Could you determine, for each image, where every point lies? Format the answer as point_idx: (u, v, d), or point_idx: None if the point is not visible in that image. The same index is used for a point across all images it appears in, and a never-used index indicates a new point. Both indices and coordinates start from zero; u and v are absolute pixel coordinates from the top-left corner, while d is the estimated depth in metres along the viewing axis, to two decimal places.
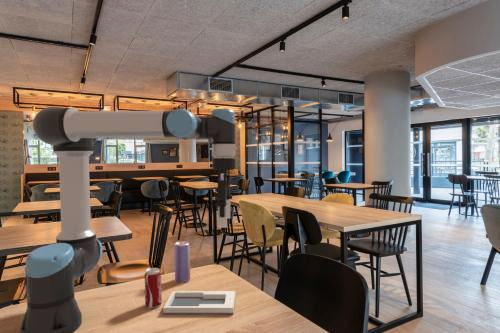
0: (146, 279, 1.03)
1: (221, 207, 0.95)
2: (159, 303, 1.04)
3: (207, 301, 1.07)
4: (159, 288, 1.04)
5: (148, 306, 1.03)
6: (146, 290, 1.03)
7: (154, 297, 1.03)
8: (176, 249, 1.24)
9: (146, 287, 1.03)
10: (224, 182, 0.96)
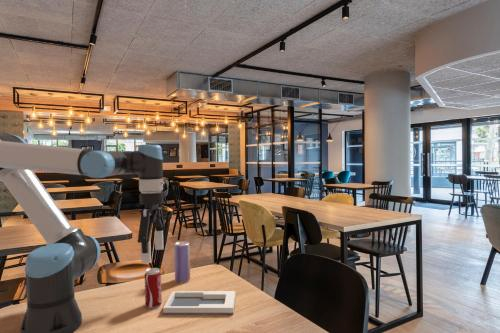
0: (146, 279, 1.03)
1: (143, 243, 0.96)
2: (159, 303, 1.04)
3: (207, 301, 1.07)
4: (159, 288, 1.04)
5: (148, 306, 1.03)
6: (146, 290, 1.03)
7: (154, 297, 1.03)
8: (176, 249, 1.24)
9: (146, 287, 1.03)
10: (147, 218, 0.97)
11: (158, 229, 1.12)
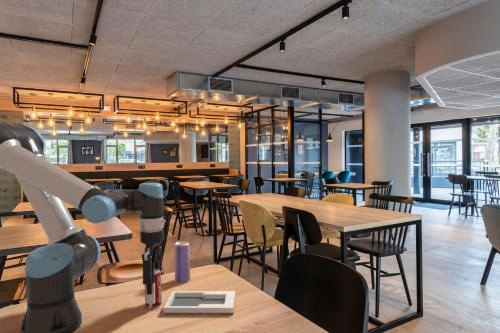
0: None
1: (148, 285, 1.01)
2: (159, 303, 1.04)
3: (207, 301, 1.07)
4: (159, 288, 1.04)
5: (148, 306, 1.03)
6: None
7: None
8: (176, 249, 1.24)
9: None
10: (148, 263, 0.99)
11: None
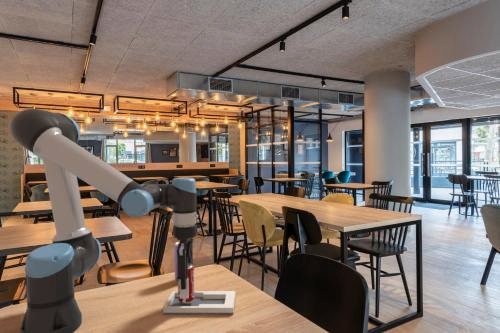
0: None
1: (182, 280, 1.01)
2: (192, 298, 1.04)
3: (207, 301, 1.07)
4: (192, 283, 1.04)
5: (182, 301, 1.03)
6: None
7: None
8: (176, 249, 1.24)
9: None
10: (183, 257, 0.99)
11: None
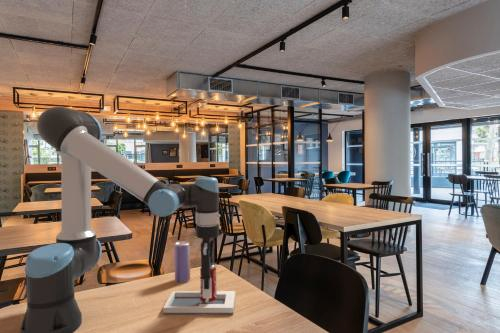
0: None
1: (205, 280, 1.01)
2: (215, 298, 1.04)
3: None
4: (215, 283, 1.04)
5: (204, 301, 1.03)
6: (202, 285, 1.03)
7: None
8: (176, 249, 1.24)
9: (202, 282, 1.03)
10: (207, 257, 0.99)
11: None
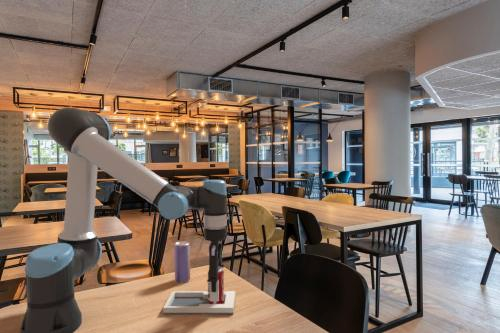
0: None
1: (213, 283, 0.98)
2: (222, 301, 1.04)
3: (207, 301, 1.07)
4: (222, 286, 1.04)
5: None
6: None
7: None
8: (176, 249, 1.24)
9: None
10: (215, 258, 0.98)
11: None
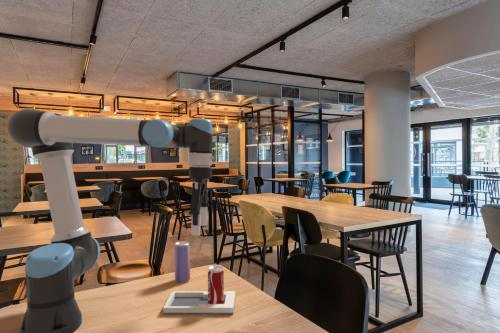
0: (210, 277, 1.03)
1: (194, 215, 0.97)
2: (222, 301, 1.04)
3: (207, 301, 1.07)
4: (222, 286, 1.04)
5: None
6: (210, 288, 1.03)
7: (218, 295, 1.03)
8: (176, 249, 1.24)
9: (210, 285, 1.03)
10: (198, 191, 0.98)
11: (202, 205, 1.12)
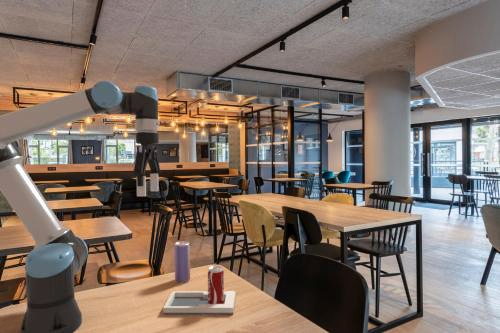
0: (210, 277, 1.03)
1: (139, 177, 1.02)
2: (222, 301, 1.04)
3: (207, 301, 1.07)
4: (222, 286, 1.04)
5: None
6: (210, 288, 1.03)
7: (218, 295, 1.03)
8: (176, 249, 1.24)
9: (210, 285, 1.03)
10: (142, 153, 1.02)
11: (153, 172, 1.17)
